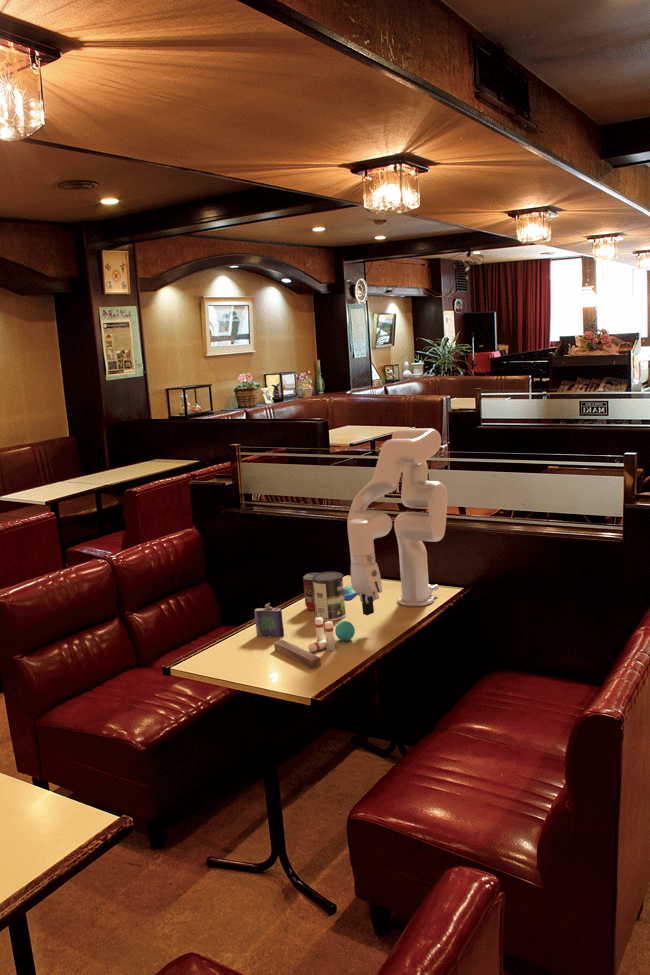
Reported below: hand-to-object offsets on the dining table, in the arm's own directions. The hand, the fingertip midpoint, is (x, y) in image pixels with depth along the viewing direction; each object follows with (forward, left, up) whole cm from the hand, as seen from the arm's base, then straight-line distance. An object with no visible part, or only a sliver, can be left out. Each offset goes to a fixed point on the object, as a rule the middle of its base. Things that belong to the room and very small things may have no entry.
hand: (368, 613), depth 235 cm
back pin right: (+18, -2, -6) cm, 19 cm away
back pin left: (+18, +3, -6) cm, 19 cm away
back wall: (+28, 0, -6) cm, 29 cm away
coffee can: (0, -21, -6) cm, 21 cm away
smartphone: (-19, -35, -7) cm, 40 cm away
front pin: (+15, 0, -5) cm, 15 cm away
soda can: (-1, -31, -6) cm, 31 cm away
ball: (+10, 0, -3) cm, 10 cm away
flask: (+24, -21, -6) cm, 32 cm away
